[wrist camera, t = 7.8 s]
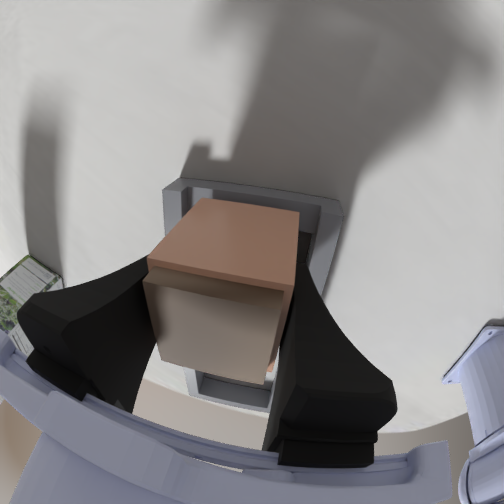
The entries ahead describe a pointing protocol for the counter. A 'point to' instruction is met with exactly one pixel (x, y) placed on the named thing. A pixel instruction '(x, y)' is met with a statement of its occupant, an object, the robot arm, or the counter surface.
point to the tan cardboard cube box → (223, 288)
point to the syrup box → (23, 296)
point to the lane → (318, 261)
